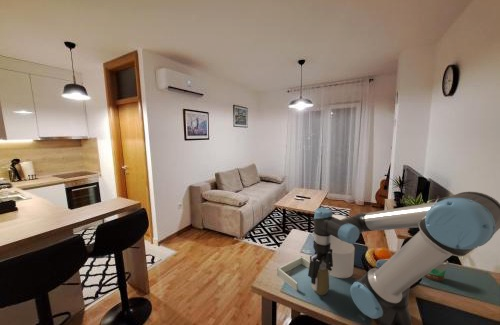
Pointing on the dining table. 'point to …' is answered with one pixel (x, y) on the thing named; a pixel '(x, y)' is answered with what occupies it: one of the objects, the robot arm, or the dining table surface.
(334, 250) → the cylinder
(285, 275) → the cream u-shaped frame
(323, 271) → the squeeze bottle
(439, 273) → the food container
